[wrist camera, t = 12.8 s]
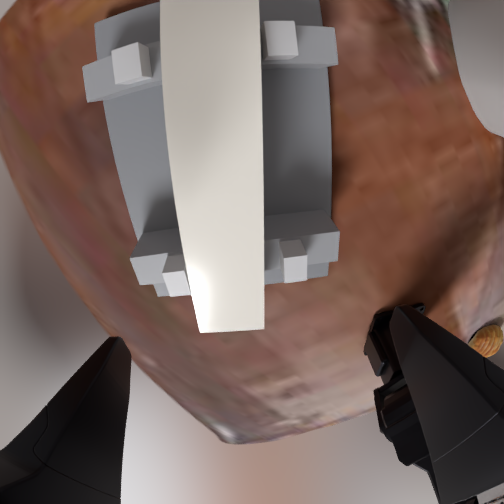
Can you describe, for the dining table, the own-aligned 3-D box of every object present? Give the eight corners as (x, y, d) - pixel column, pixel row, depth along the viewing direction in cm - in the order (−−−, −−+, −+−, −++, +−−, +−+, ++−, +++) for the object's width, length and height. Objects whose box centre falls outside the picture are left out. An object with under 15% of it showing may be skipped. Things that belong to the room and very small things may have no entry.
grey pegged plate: (102, 26, 11) (54, 9, 6) (311, -5, 11) (346, -39, 6) (160, 286, 21) (146, 342, 17) (323, 266, 22) (347, 318, 17)
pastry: (457, 350, 34) (467, 367, 31) (482, 320, 31) (494, 336, 27) (478, 349, 36) (487, 363, 33) (500, 322, 33) (510, 336, 30)
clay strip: (258, 292, 17) (264, 329, 14) (203, 295, 17) (200, 332, 14) (251, 2, 8) (258, -22, 6) (174, 8, 8) (160, -13, 6)
